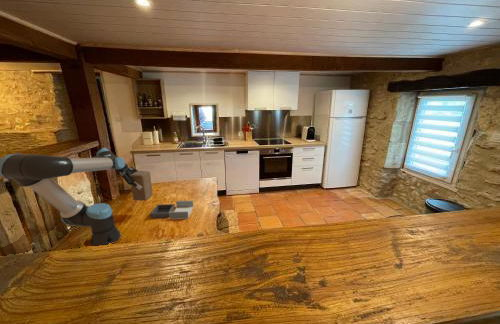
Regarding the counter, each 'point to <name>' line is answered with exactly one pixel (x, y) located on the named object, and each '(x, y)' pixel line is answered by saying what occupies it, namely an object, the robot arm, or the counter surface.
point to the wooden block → (145, 182)
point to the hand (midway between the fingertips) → (144, 185)
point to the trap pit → (162, 211)
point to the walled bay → (182, 210)
